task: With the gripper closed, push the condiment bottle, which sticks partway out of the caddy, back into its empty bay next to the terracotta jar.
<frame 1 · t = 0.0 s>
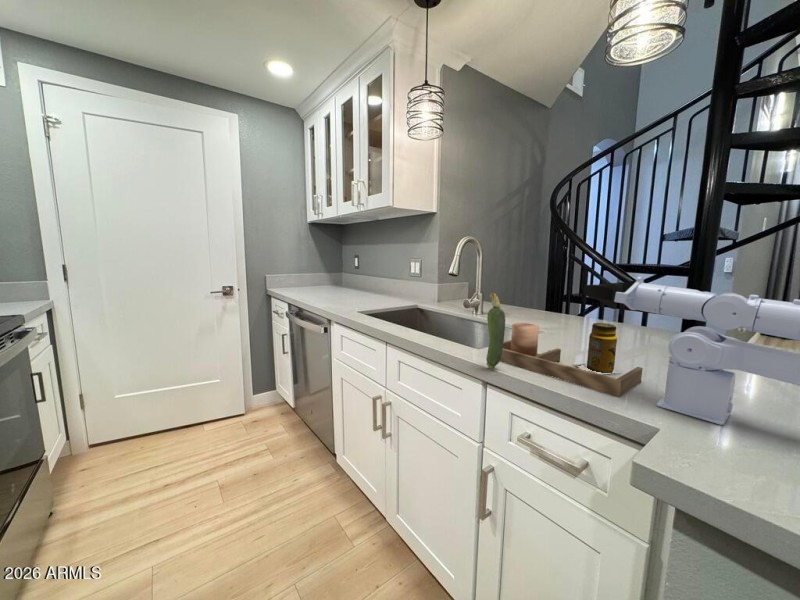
hand: (591, 288, 75), 22 cm above the countertop, tool horizontal, fingers open, 7 cm apart
condiment: (596, 370, 85), on the countertop
caddy: (583, 375, 80), on the countertop
vegetable: (493, 370, 84), on the countertop
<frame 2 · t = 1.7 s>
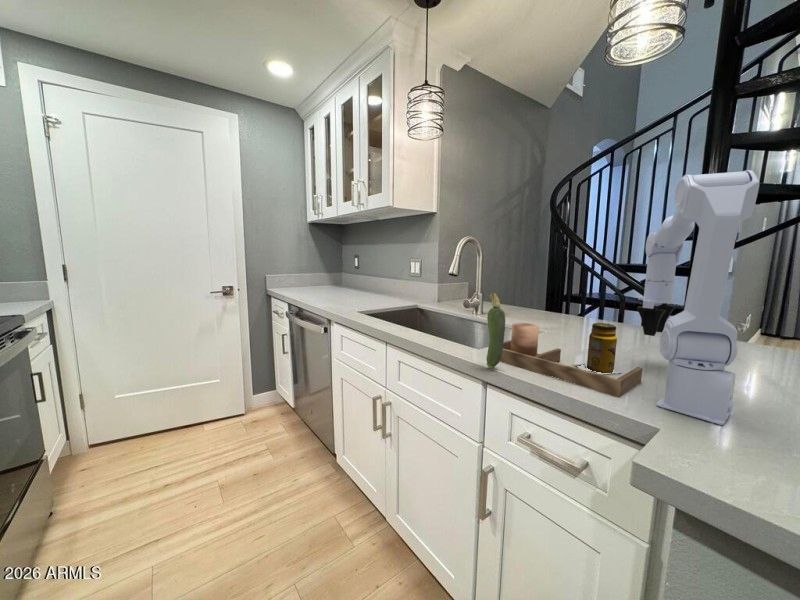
hand: (653, 333, 85), 9 cm above the countertop, tool pointing down, fingers open, 6 cm apart
nothing on the countertop moved.
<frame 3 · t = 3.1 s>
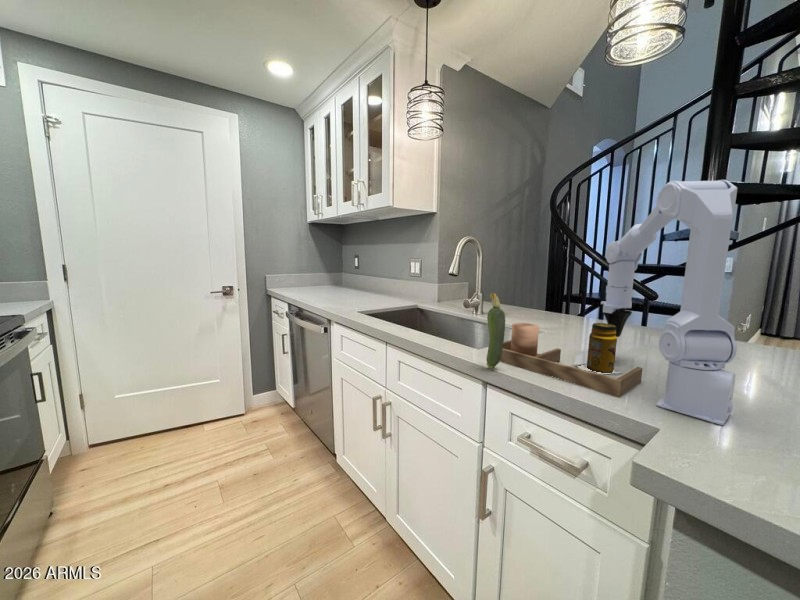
hand: (614, 336, 90), 7 cm above the countertop, tool pointing down, fingers closed
nothing on the countertop moved.
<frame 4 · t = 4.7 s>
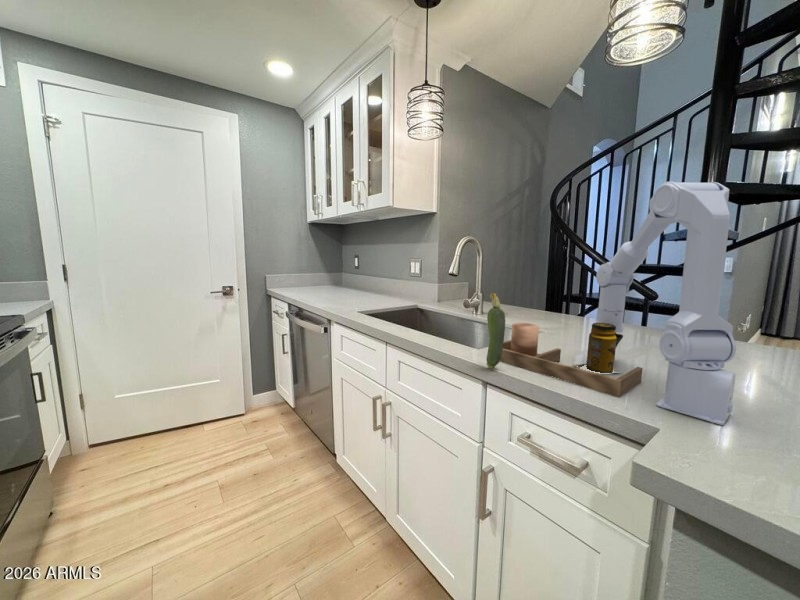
hand: (606, 359, 88), 1 cm above the countertop, tool pointing down, fingers closed
condiment: (595, 370, 85), on the countertop, touching gripper
everything else where it was.
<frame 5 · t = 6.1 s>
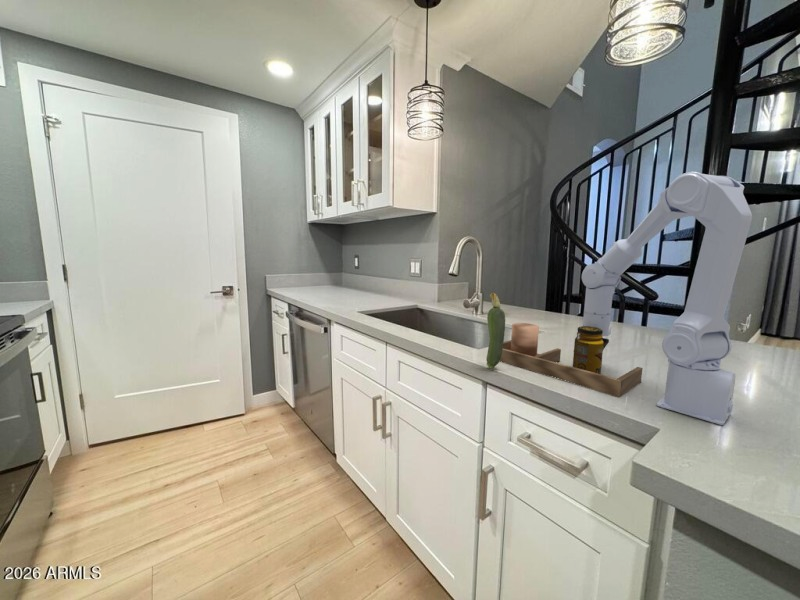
hand: (591, 365, 83), 2 cm above the countertop, tool pointing down, fingers closed
condiment: (582, 376, 80), on the countertop, touching caddy, gripper
everything else where it was.
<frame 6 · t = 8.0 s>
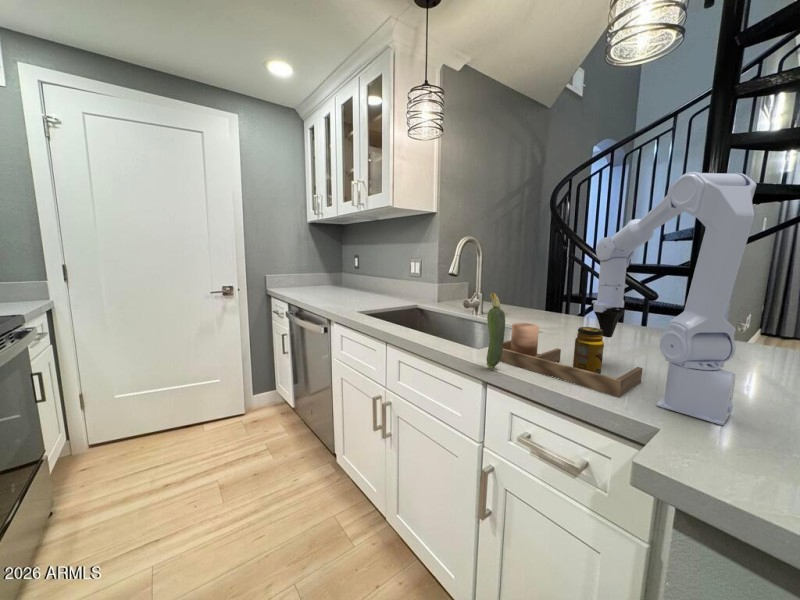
hand: (606, 336, 86), 8 cm above the countertop, tool pointing down, fingers closed
condiment: (582, 377, 80), on the countertop
everything else where it was.
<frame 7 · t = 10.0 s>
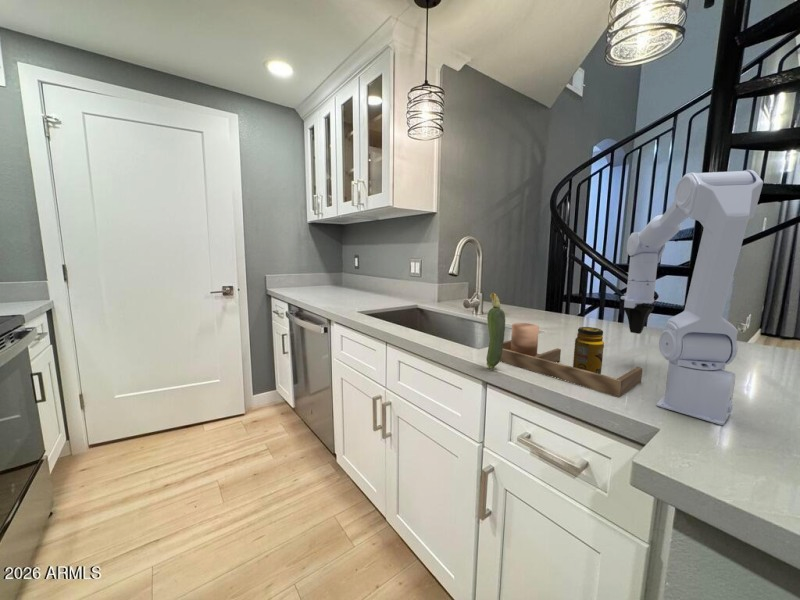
hand: (635, 332, 85), 9 cm above the countertop, tool pointing down, fingers closed
nothing on the countertop moved.
at the end: condiment inside the target area on the caddy (1.4 cm from its centre), point 0.0 cm above the caddy's base; condiment tilted 0°; condiment moved 8.1 cm from its start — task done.
